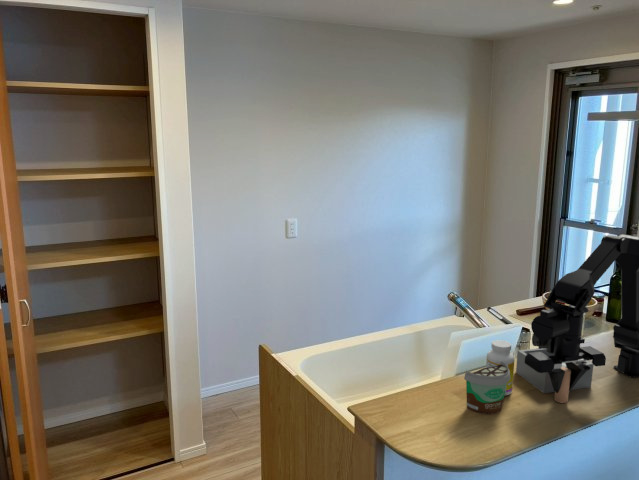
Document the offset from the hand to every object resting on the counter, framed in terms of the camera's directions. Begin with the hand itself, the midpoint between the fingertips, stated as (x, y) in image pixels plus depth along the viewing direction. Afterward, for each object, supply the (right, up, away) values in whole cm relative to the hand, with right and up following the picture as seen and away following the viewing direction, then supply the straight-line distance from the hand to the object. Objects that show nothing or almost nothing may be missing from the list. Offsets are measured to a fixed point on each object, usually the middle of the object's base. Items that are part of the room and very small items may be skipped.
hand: (561, 391), depth 127 cm
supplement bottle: (-14, -2, +6) cm, 15 cm away
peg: (0, -2, 0) cm, 2 cm away
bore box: (+3, 0, +12) cm, 12 cm away
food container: (-19, -4, -3) cm, 19 cm away
